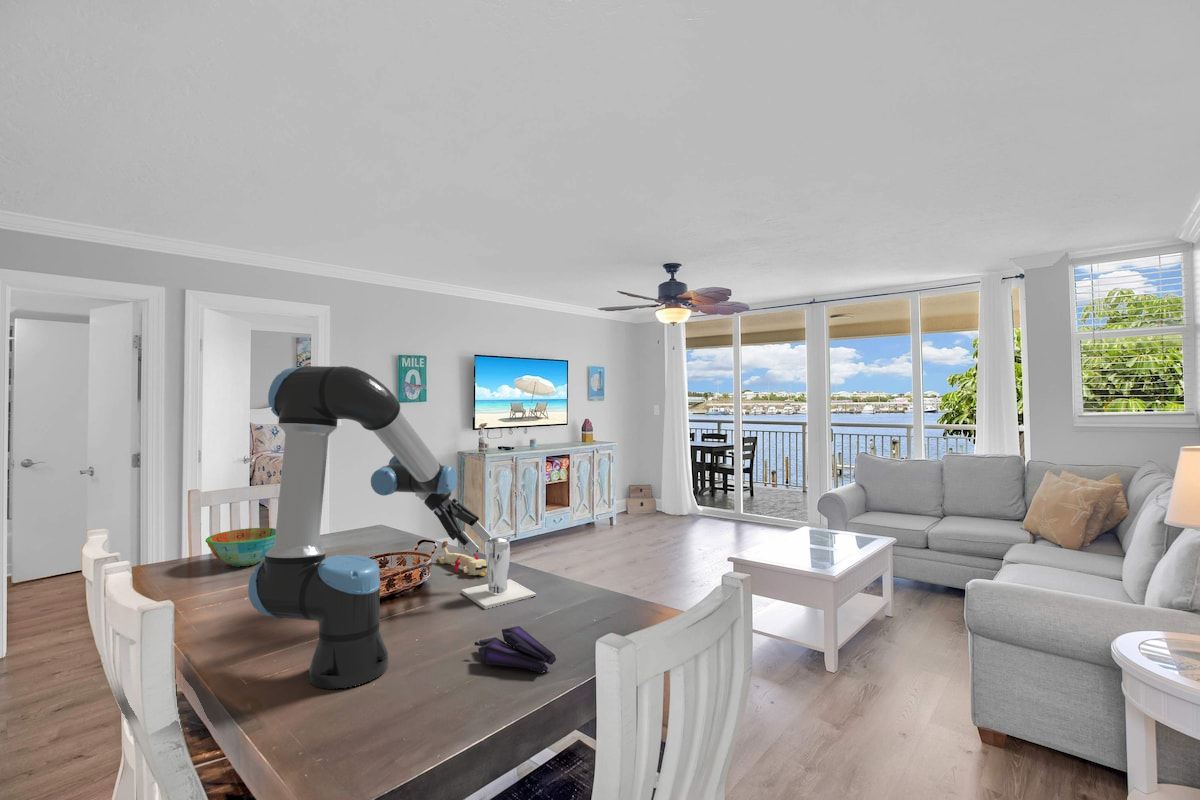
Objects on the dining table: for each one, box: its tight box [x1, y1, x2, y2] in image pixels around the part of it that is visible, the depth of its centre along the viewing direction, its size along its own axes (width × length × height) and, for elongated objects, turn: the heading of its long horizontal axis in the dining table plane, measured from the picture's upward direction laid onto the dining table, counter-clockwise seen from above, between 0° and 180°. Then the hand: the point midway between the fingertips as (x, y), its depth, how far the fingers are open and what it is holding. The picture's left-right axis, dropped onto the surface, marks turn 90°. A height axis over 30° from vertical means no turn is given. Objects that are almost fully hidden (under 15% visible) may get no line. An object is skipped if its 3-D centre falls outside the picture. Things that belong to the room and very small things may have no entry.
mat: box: [460, 578, 537, 610], centre depth 165 cm, size 16×16×1 cm
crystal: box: [474, 626, 557, 674], centre depth 124 cm, size 7×12×20 cm
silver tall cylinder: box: [485, 537, 511, 595], centre depth 165 cm, size 7×7×15 cm
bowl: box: [205, 527, 276, 568], centre depth 195 cm, size 22×22×10 cm
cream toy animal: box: [435, 540, 488, 577], centre depth 190 cm, size 10×9×25 cm
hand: (482, 545), depth 166 cm, fingers open, 13 cm apart
